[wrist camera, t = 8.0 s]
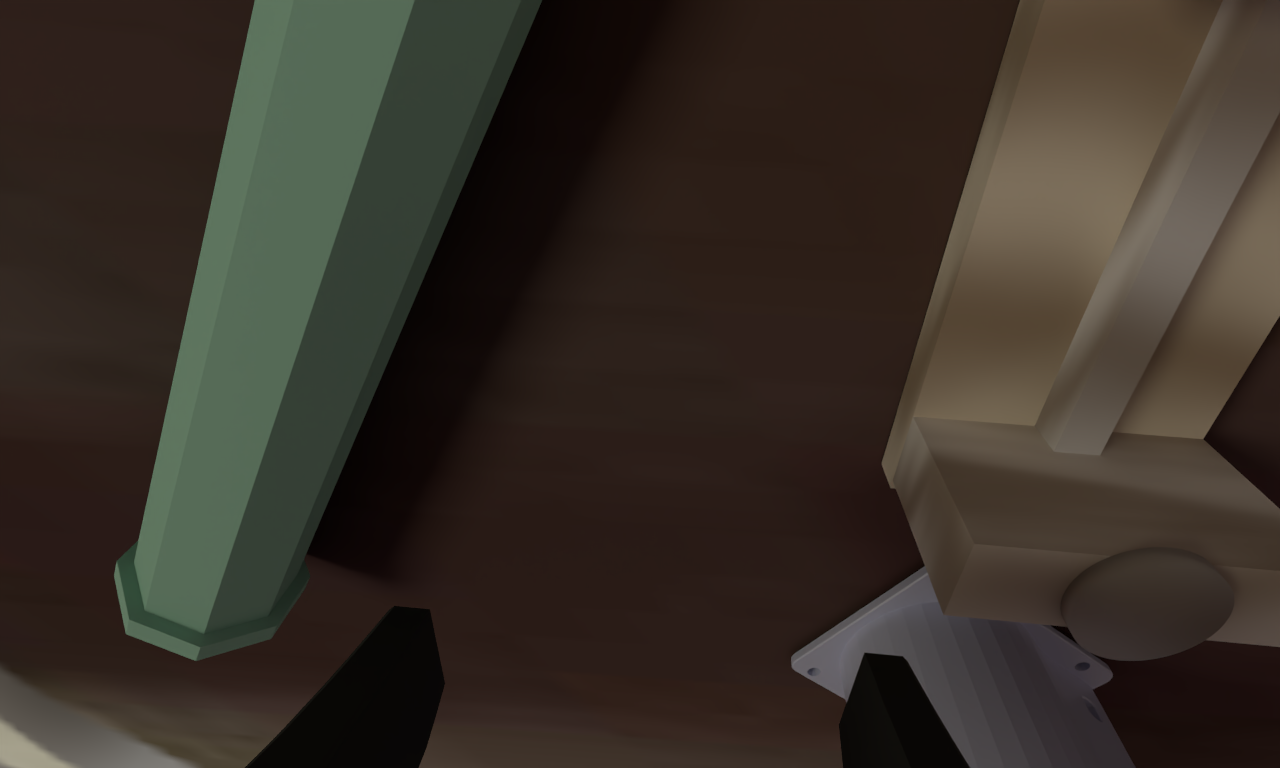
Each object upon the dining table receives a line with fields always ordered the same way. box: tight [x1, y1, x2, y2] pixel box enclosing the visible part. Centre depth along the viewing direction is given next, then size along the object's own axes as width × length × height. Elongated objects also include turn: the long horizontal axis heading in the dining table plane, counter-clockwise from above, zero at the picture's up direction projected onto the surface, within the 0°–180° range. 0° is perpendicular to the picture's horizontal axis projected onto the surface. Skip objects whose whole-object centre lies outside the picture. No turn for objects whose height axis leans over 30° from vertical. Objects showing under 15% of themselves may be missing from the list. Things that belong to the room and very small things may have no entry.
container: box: [114, 0, 542, 661], centre depth 17 cm, size 6×6×25 cm
